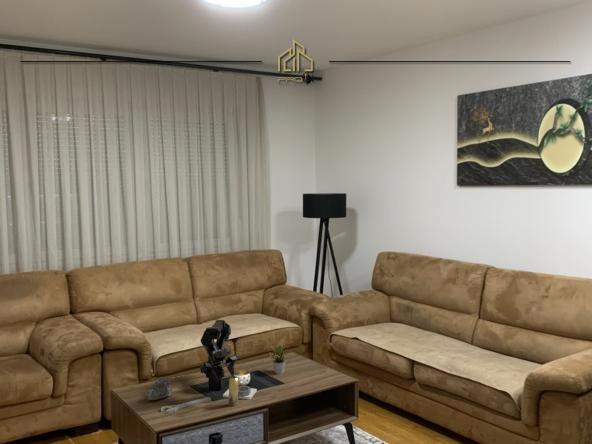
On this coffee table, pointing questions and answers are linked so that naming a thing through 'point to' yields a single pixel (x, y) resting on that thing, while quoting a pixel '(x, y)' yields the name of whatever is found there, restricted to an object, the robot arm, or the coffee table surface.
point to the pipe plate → (242, 392)
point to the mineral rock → (159, 389)
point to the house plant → (278, 359)
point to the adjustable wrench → (184, 405)
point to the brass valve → (233, 390)
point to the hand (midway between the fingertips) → (226, 379)
